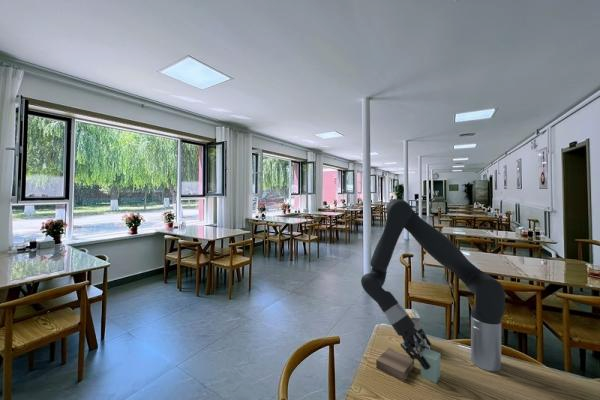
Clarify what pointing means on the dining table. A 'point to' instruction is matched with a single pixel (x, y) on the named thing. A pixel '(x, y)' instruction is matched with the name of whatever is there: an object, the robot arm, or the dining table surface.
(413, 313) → the supplement box
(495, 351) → the robot arm
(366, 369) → the dining table surface
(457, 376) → the dining table surface
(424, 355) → the sage block
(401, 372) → the walnut plinth
